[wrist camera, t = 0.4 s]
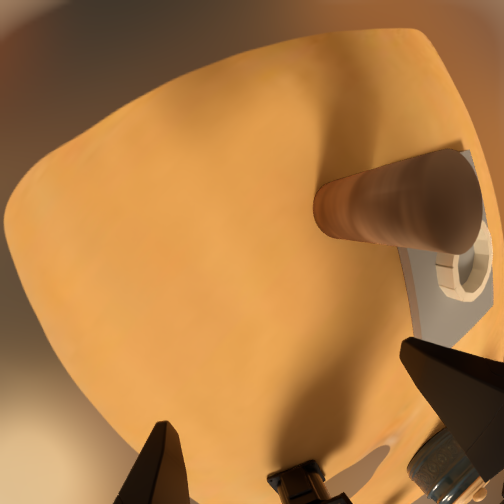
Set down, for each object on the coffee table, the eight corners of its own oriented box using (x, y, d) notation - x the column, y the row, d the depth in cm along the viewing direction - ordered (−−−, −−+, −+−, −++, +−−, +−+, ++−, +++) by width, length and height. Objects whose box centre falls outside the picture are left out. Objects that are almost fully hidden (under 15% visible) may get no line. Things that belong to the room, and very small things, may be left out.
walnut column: (370, 226, 23) (488, 233, 10) (324, 247, 23) (439, 272, 10) (352, 174, 22) (466, 141, 10) (304, 191, 22) (411, 160, 9)
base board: (486, 302, 28) (505, 308, 24) (416, 365, 26) (437, 379, 22) (461, 151, 25) (483, 146, 21) (378, 182, 23) (404, 176, 19)
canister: (456, 412, 30) (518, 456, 13) (456, 440, 32) (504, 479, 15) (400, 461, 29) (455, 521, 12) (408, 481, 31) (451, 529, 14)
